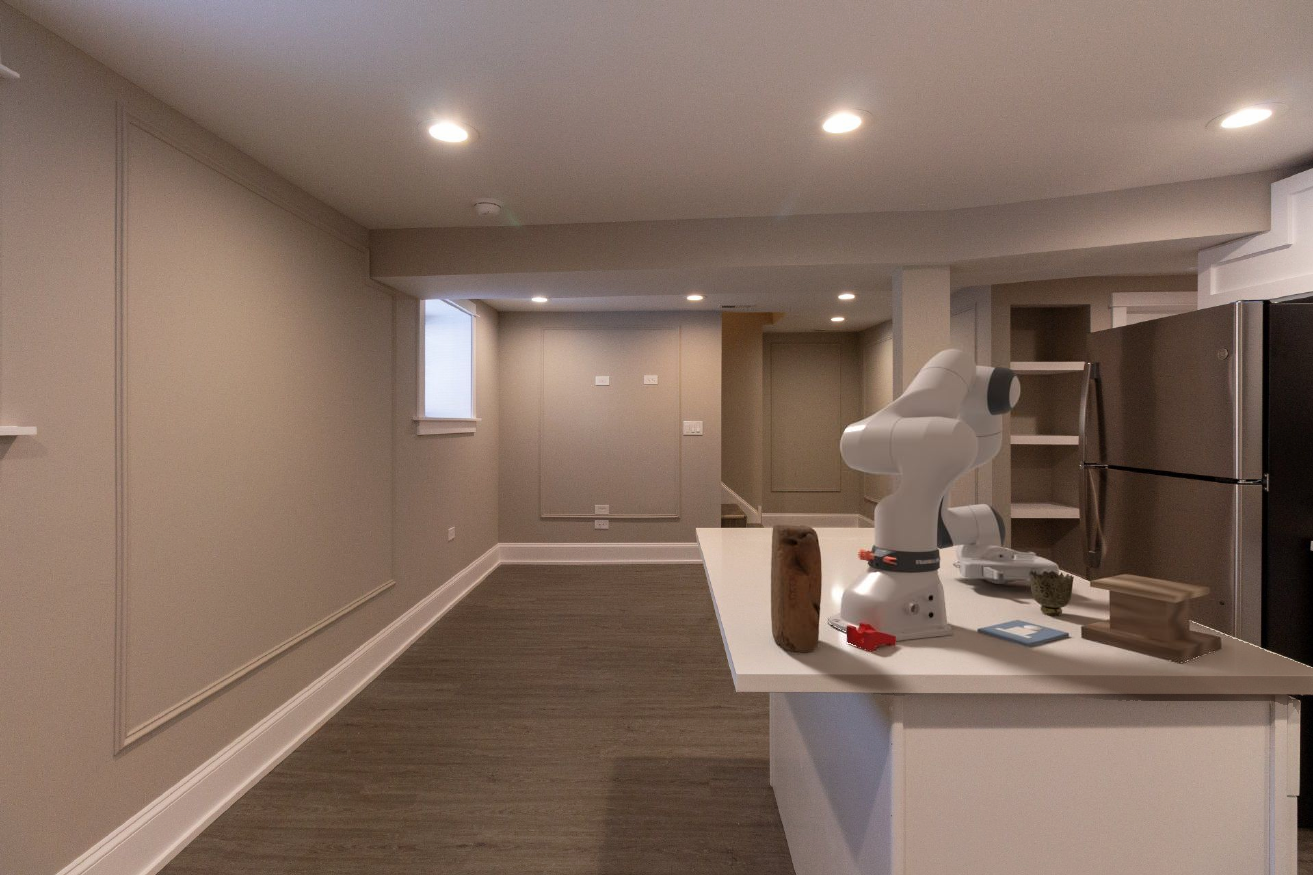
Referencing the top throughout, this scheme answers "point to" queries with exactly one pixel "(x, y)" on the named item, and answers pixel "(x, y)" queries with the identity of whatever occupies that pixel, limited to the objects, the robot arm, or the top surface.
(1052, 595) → the cup
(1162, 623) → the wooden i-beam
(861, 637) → the bracket
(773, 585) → the brown speckled rock
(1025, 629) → the board
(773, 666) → the top surface
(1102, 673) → the top surface
